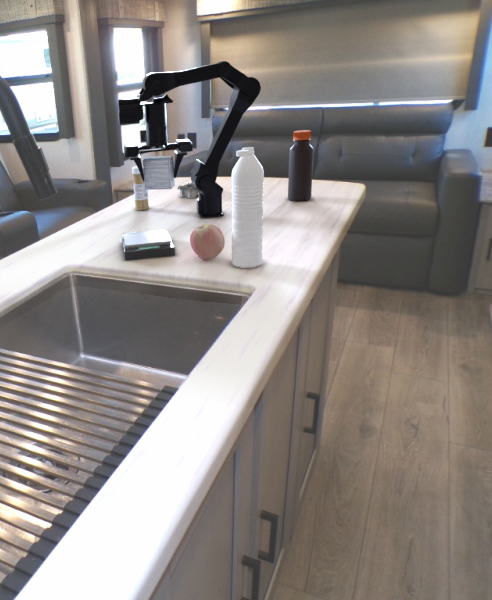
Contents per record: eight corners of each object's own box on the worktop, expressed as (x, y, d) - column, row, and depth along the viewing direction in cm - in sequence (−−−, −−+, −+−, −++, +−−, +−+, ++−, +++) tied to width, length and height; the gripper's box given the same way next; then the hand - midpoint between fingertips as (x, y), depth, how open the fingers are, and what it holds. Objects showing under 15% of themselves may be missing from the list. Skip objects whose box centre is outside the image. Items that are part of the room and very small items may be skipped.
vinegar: (313, 196, 166) (317, 129, 158) (307, 202, 161) (311, 132, 153) (291, 195, 169) (293, 129, 161) (285, 201, 164) (287, 133, 156)
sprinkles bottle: (142, 206, 175) (139, 164, 170) (152, 208, 172) (149, 165, 166) (132, 209, 172) (128, 167, 167) (141, 211, 169) (138, 168, 164)
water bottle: (235, 257, 123) (235, 145, 113) (264, 259, 120) (267, 144, 110) (225, 270, 116) (224, 152, 106) (256, 273, 113) (258, 151, 103)
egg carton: (191, 199, 178) (191, 186, 176) (175, 196, 184) (175, 184, 182) (213, 192, 184) (213, 180, 182) (197, 189, 189) (196, 178, 188)
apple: (202, 250, 129) (201, 218, 126) (230, 255, 125) (230, 221, 121) (184, 260, 124) (182, 227, 121) (213, 265, 119) (212, 231, 116)
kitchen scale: (167, 238, 141) (167, 228, 140) (175, 255, 128) (174, 244, 127) (122, 242, 141) (121, 233, 140) (124, 260, 128) (124, 249, 127)
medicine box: (175, 186, 155) (173, 155, 151) (171, 189, 151) (169, 158, 147) (148, 186, 157) (146, 156, 154) (144, 190, 154) (142, 159, 150)
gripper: (186, 116, 154) (187, 171, 160) (121, 122, 155) (125, 177, 161) (191, 119, 144) (193, 178, 150) (122, 126, 144) (127, 184, 150)
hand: (159, 179), depth 153 cm, fingers closed on medicine box, 9 cm apart
